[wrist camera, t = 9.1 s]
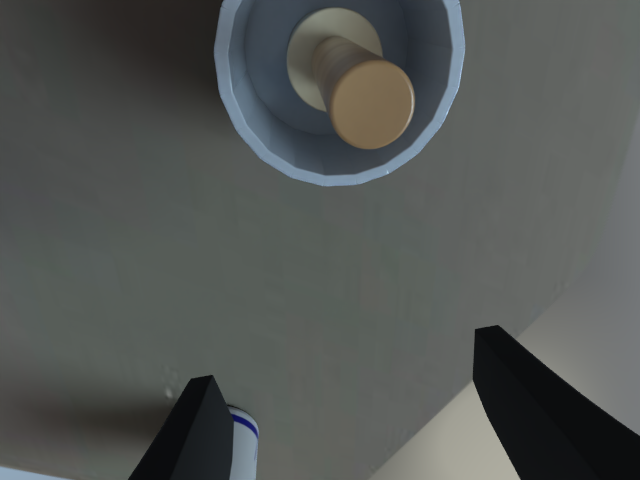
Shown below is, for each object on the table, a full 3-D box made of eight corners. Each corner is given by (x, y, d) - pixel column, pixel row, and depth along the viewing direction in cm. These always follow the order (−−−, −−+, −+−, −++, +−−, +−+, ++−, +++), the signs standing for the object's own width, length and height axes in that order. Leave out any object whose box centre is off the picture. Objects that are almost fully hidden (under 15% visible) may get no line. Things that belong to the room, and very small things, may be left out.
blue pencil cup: (205, 76, 16) (171, 104, 12) (302, -109, 13) (309, -172, 9) (343, 168, 19) (361, 222, 14) (448, 28, 16) (516, 36, 11)
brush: (271, 65, 16) (251, 131, 7) (317, -14, 14) (358, -43, 6) (336, 112, 17) (383, 216, 8) (384, 43, 15) (496, 84, 7)
